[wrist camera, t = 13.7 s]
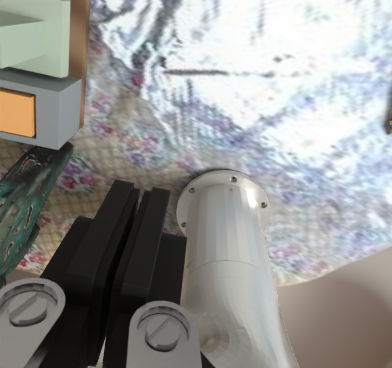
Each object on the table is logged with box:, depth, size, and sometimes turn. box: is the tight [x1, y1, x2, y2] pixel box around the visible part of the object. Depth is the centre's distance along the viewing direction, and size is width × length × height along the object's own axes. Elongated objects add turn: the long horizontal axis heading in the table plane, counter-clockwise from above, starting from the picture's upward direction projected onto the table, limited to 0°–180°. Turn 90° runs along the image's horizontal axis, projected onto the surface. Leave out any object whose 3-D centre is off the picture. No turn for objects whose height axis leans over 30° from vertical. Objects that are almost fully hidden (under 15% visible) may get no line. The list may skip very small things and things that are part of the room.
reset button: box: [0, 87, 36, 137], centre depth 35 cm, size 4×4×5 cm
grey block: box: [0, 66, 82, 150], centre depth 36 cm, size 6×9×6 cm, turn 78°
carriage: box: [0, 0, 70, 78], centre depth 30 cm, size 7×7×10 cm
